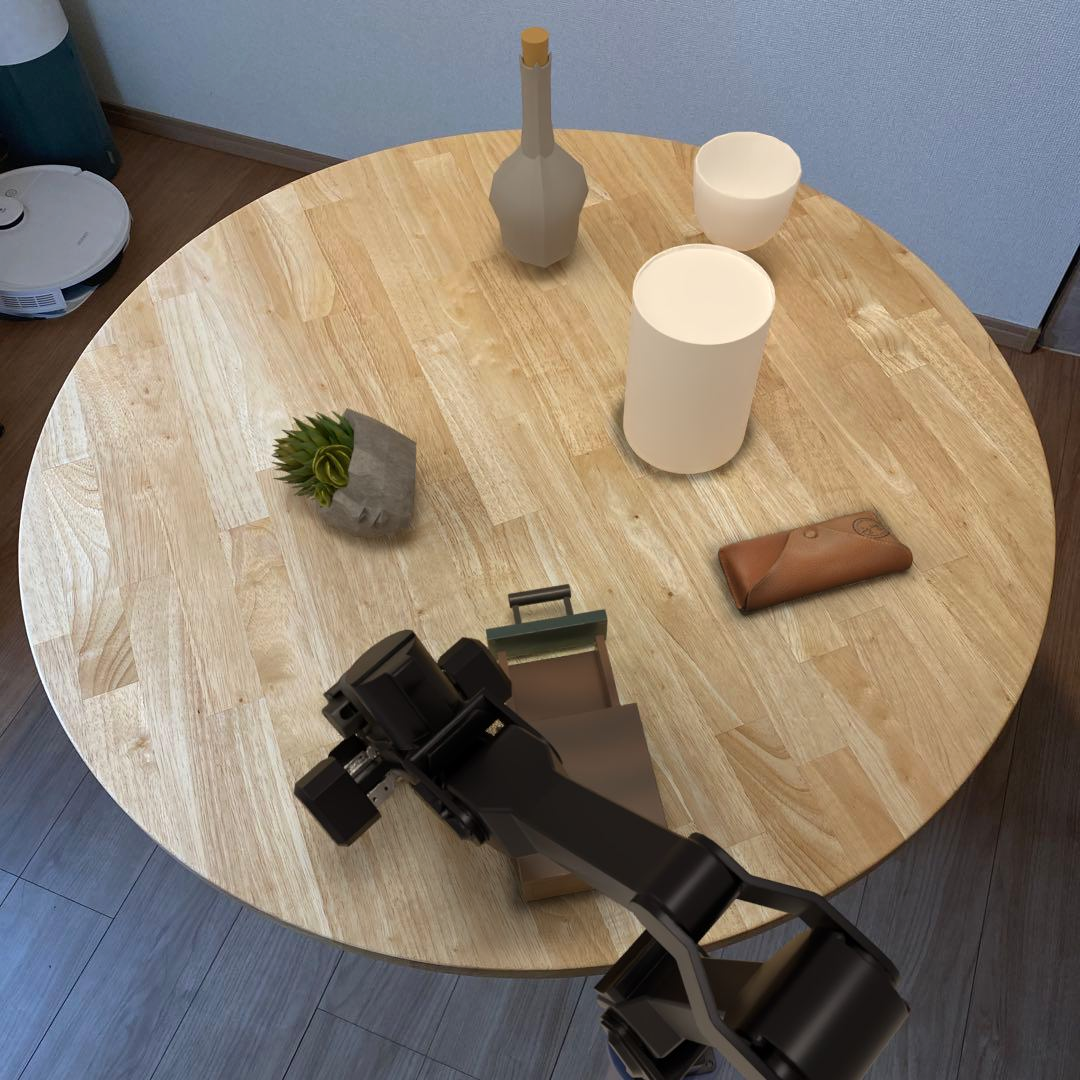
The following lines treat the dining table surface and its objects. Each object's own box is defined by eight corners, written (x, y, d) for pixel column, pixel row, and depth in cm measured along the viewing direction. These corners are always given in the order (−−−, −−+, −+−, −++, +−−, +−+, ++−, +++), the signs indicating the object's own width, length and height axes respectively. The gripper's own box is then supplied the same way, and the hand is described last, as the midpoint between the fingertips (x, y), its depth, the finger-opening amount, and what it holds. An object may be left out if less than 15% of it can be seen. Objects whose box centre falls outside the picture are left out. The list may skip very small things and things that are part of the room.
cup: (673, 307, 127) (687, 192, 112) (687, 242, 133) (702, 125, 118) (770, 321, 125) (797, 206, 111) (780, 255, 131) (806, 137, 117)
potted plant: (402, 560, 104) (249, 528, 101) (404, 523, 116) (268, 494, 114) (428, 443, 101) (271, 408, 98) (428, 418, 113) (288, 386, 110)
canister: (767, 413, 117) (800, 279, 101) (704, 494, 112) (728, 366, 95) (665, 362, 122) (680, 225, 105) (599, 436, 116) (605, 304, 99)
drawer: (482, 613, 103) (479, 591, 100) (595, 594, 104) (596, 572, 101) (509, 772, 94) (507, 754, 91) (632, 749, 95) (635, 731, 92)
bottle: (506, 226, 135) (493, -1, 110) (592, 236, 134) (598, 9, 109) (486, 287, 129) (467, 62, 104) (576, 298, 128) (579, 73, 103)
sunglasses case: (872, 504, 110) (901, 498, 103) (889, 569, 110) (921, 567, 103) (711, 548, 107) (731, 545, 101) (729, 615, 107) (751, 616, 100)
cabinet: (499, 753, 96) (495, 727, 91) (633, 729, 97) (636, 702, 92) (524, 902, 89) (521, 883, 84) (668, 874, 90) (674, 854, 85)
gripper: (477, 592, 78) (401, 581, 92) (278, 763, 71) (227, 723, 85) (554, 703, 82) (470, 677, 95) (371, 877, 75) (309, 821, 88)
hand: (372, 720), depth 91 cm, fingers closed on sprinkles bottle, 4 cm apart
